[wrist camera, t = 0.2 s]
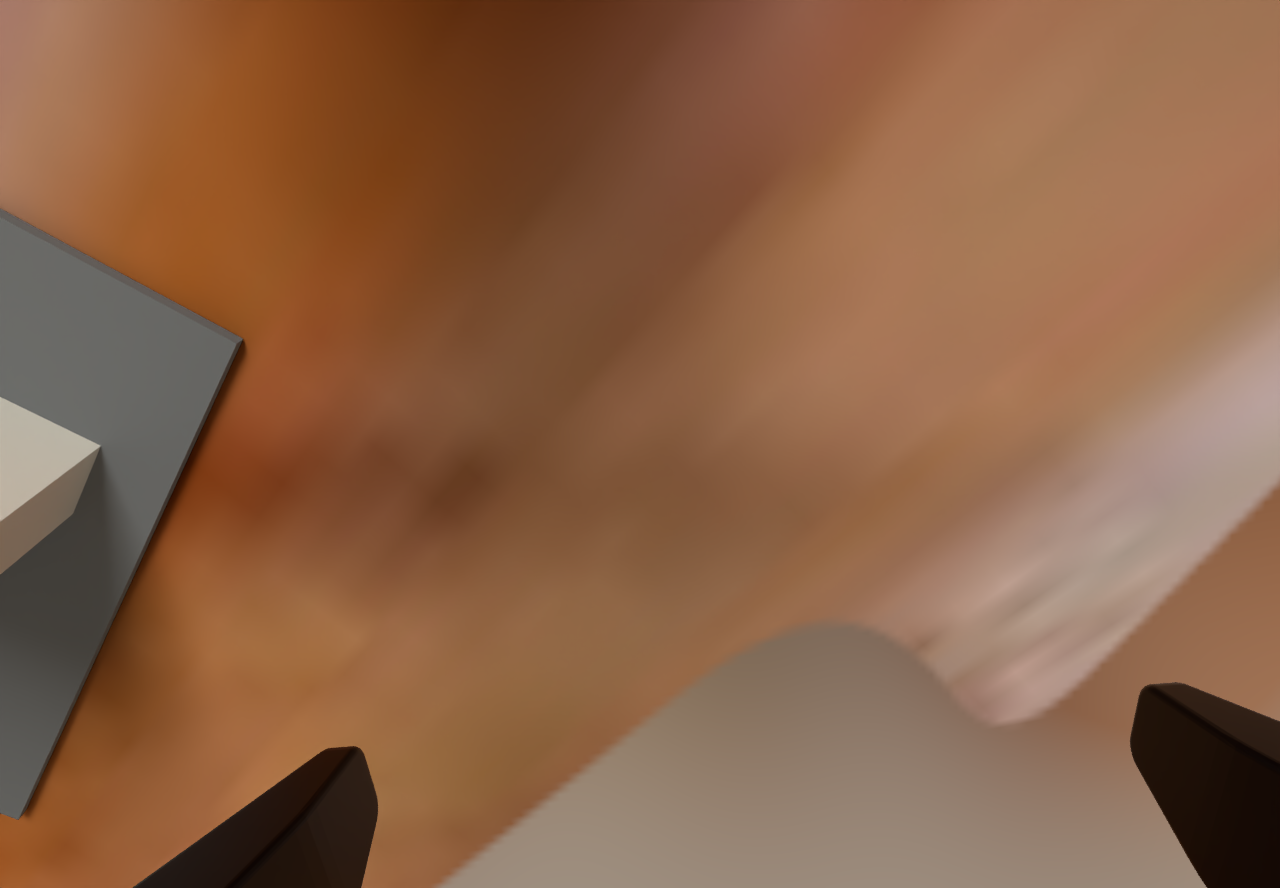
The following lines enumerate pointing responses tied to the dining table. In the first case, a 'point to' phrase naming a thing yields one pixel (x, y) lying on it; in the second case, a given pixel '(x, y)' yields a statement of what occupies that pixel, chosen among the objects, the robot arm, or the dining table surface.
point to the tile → (37, 478)
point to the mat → (119, 479)
